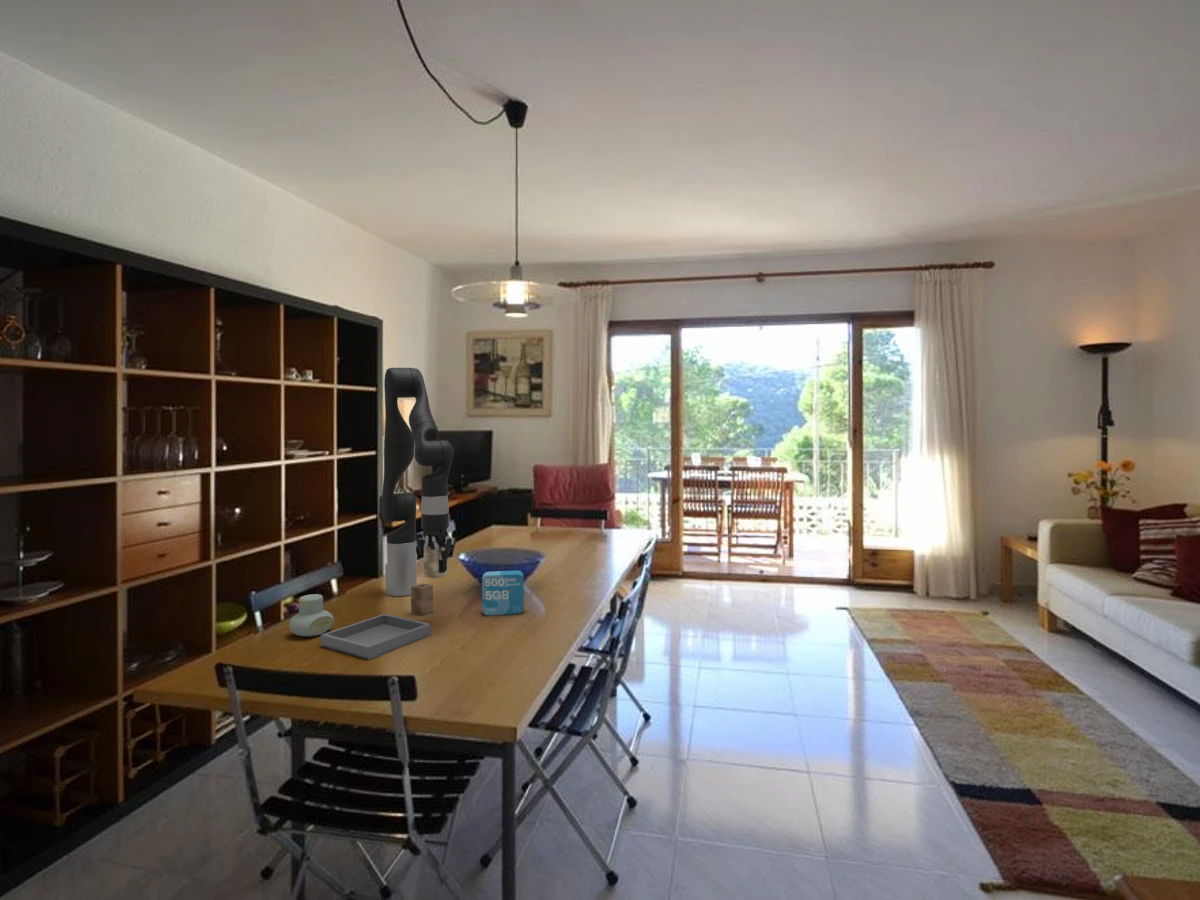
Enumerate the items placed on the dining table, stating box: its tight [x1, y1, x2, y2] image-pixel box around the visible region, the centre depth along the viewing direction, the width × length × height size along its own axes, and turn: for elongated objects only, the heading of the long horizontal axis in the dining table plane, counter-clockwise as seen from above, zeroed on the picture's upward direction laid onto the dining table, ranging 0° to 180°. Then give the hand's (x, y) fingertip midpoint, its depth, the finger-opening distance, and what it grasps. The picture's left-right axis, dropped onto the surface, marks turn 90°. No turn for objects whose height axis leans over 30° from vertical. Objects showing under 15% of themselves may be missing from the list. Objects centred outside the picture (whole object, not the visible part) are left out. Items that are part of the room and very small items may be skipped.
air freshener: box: [288, 593, 335, 638], centre depth 169 cm, size 11×8×10 cm
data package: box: [481, 570, 525, 617], centre depth 186 cm, size 12×4×12 cm, turn 98°
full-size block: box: [410, 583, 434, 616], centre depth 187 cm, size 4×4×8 cm
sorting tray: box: [320, 613, 432, 661], centre depth 163 cm, size 18×20×3 cm
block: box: [423, 546, 448, 580], centre depth 178 cm, size 4×4×8 cm
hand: (435, 571), depth 178 cm, fingers closed on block, 4 cm apart
